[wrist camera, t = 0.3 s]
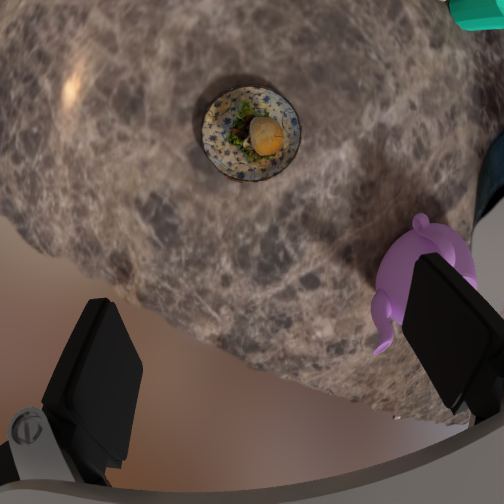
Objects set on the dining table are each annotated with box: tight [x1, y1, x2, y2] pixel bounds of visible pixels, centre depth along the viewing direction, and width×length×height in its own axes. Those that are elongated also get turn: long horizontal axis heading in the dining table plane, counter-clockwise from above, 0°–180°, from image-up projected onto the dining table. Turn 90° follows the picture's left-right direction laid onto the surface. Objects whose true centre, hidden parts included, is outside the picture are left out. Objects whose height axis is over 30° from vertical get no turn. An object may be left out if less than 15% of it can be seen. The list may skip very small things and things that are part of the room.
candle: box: [449, 0, 504, 31], centre depth 22 cm, size 6×6×12 cm
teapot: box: [371, 213, 477, 355], centre depth 41 cm, size 22×22×14 cm
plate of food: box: [201, 85, 302, 183], centre depth 32 cm, size 12×12×8 cm
